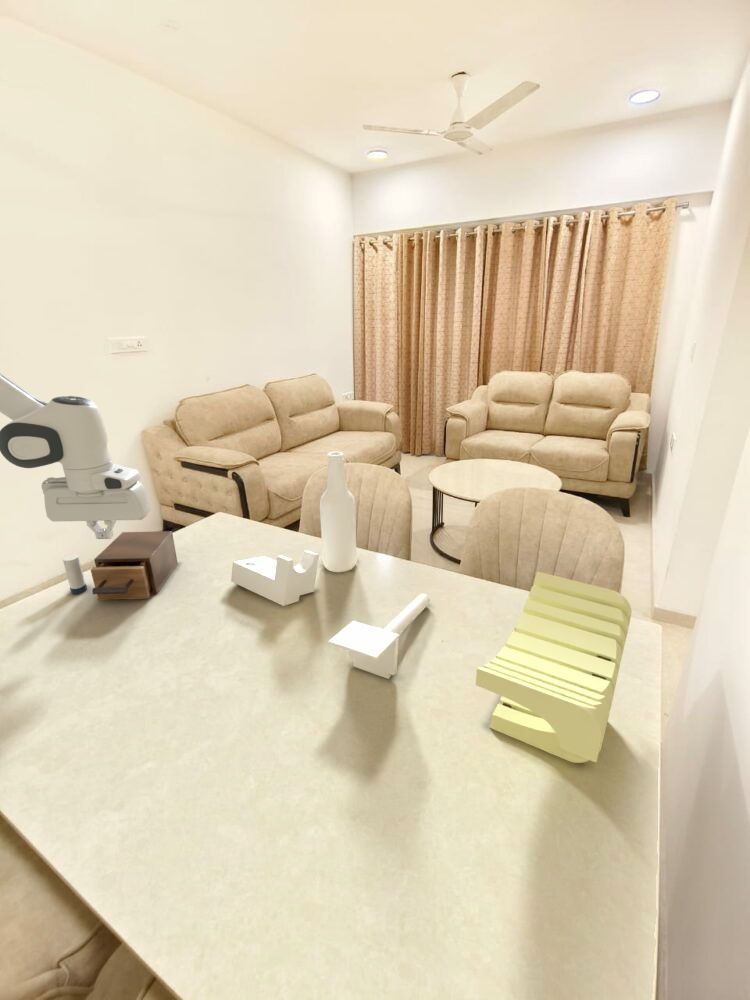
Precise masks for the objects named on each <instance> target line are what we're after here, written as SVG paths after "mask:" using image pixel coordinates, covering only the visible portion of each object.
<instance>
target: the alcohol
mask: <svg viewBox="0 0 750 1000" xmlns="http://www.w3.org/2000/svg"><path fill="white" fill-rule="evenodd" d="M344 456H345V454H344V453H343V452H341V451H329V452H327V454H326V457H327V459H326V461H327V477H326V478H327V483H326V489H325V491H324V492H323V493H322V494H321V497H320V500H319V518H320V519H319V520H320V534H321V535H320V536H321V550H322V551H321V552H322V553H321V554H322V555H321V556H322V564H323V566H324V568H325V569H326V570H327V571H330V572H333V573H345V572H349V571H350V570H352V569H354V568H355V567H356V565H357V563H358V553H357V552H358V551H357V521H356V520H357V519H356V500H355V497H354V494H353V493H352V492H351V491H350V490H349V489H348V486H347V481H346V480H347V479H346V470H345V458H344Z"/></svg>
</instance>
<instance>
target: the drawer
mask: <svg viewBox="0 0 750 1000" xmlns="http://www.w3.org/2000/svg"><path fill="white" fill-rule="evenodd" d="M90 572H91V578H92V581H93V585H94V587H93V588H92V590H91V594H93V595H96V597H97V600H99V601H100V600H135V599H136V600H142V599H149V598H150V597H151V594H150V593H149V591H150V590H151V588H152V584H151V579H150V575H149V570H148V565H147V561H132V562H102V563H101V564H100V567H96V566H93V567H92V568H91V569H90Z"/></svg>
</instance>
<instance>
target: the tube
mask: <svg viewBox="0 0 750 1000" xmlns="http://www.w3.org/2000/svg"><path fill="white" fill-rule="evenodd" d="M62 562H63V566H64V570H65V573H66V578H67V581H68V585H69V590H70V594H71V595H74V596H77V595H82V594H84V593H86V592H87V591H88V586H87V583H86V579H85V576H84V573H83V569H82V564H81V560H80V557H79V555H78V554H75V553H73V554H69V555H65V556H64V557H63V558H62Z"/></svg>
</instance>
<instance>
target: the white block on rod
mask: <svg viewBox="0 0 750 1000" xmlns="http://www.w3.org/2000/svg"><path fill="white" fill-rule="evenodd" d="M430 603H431V598H430V596H429V595H427V594H426V593H420V594H419V595H417V597H416V598H415V599H414V600H412V601H411V602H410V603H409V604H408V605H407V606H406V607H405V608H404V609H403V610H402V611H401V612H400V613H398V615H396V617H394V619H392V620H391V621H390V622H389V623H388V624H387V625H386V626H385V627H384V628H382V627H378V626H372V625H369V624H366V623H363V622H359V621H357V620H352V621H351V622H350V623H348V624H347V625H346V626H345V627H344V628H342V629H341V630H340V631H338V632H337V634H335V635H333V637H332V638H330V639H329V640H328V641H327V642H328V643H327V644H328V645H331V646H334V647H336V648H340V649H342V650H346V651H348V652H349V653H348V660H349V661H351V662H352V666H353V667H354V668H357V669H359V670H361V671H365V672H367V673H370V674H373V675H376V676H378V677H381V678H385V679H388V680H390V678H391V677H392V676H395V675H396V674H397V670H398V669H397V667H398V652H399V638H400V637H399V636H400V634H401V633H403V631H404V630H406V628H407V627H408V626H410V624H411V623H412V622H413V621H415V619H416V618H417V617H418V616H419V615H420V614H421V613H422V612H423V611H424V610H425V608H427V607H428V606H429V605H430Z"/></svg>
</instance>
